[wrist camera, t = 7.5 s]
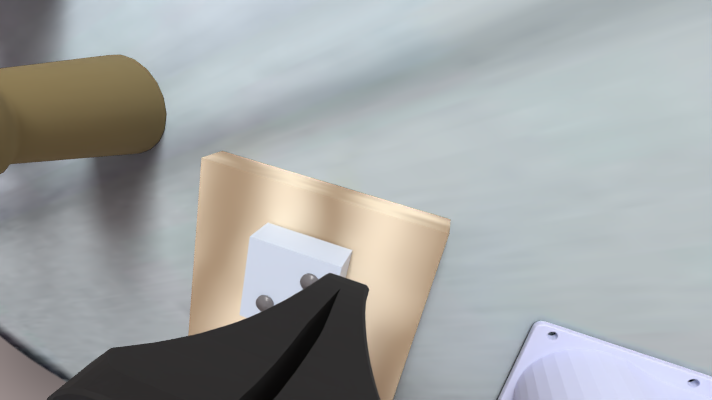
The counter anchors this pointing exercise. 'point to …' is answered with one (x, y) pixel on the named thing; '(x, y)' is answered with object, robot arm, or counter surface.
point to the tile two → (286, 266)
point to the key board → (325, 222)
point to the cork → (78, 110)
